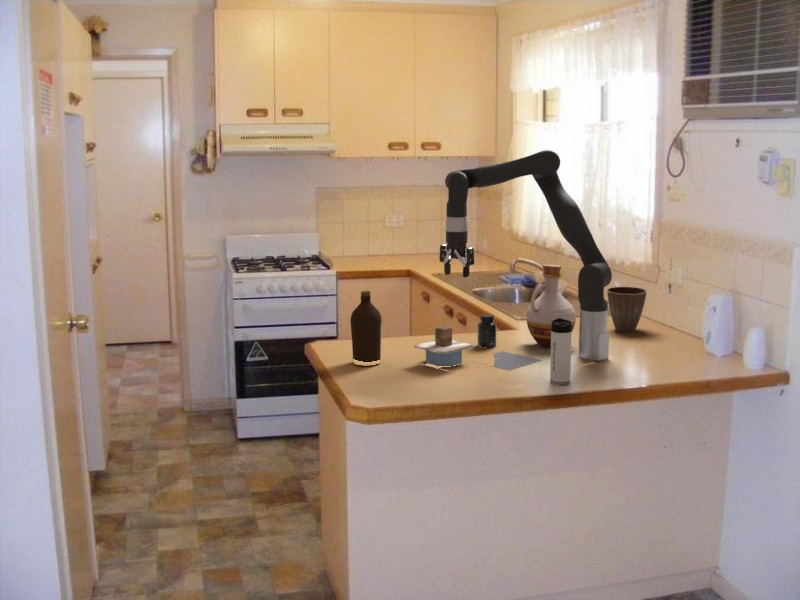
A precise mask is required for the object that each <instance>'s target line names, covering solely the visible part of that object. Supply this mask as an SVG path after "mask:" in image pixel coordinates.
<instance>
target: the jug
mask: <svg viewBox="0 0 800 600" xmlns="http://www.w3.org/2000/svg"><path fill="white" fill-rule="evenodd" d="M542 269H543V272H542V277H543V279H544V283H541V284H539V285H538V286H537V287H536V288H535V289H534V291H533V293H532V295H531V297H530V304H529V307H528V308H527V311H526V315H525V317H526V324H527V329H528V331H529V334H530V336H531V337H532V338H533V340H534V341H535V342H536V344H537V345H538V346H539V347H540V348H543V347H544V348H543V349H551V333H552V332H551V329H552V327H551V326H552V321H553V320H556V319H557V318H562V319H565V320H569V321H571V323H572V328H571V329H572V330H571V331H572V332H573V331H574V328H575V324H576V320H577V314H576V311H575V308H574V307H573V305H572V304H571V303H570V302H569V300H567V299H566V298H565V297H564V296H563V295H562V294H561V293H560V292H559V281H560V278H561V275H562V272H561V269H562V265H559V264H542ZM543 288H544V290H543V292H542V293H541V294H540V296H539V297H537V296H538V294H539V292H540V291H541V289H543ZM536 297H537V298H536Z"/></svg>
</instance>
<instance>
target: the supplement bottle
mask: <svg viewBox="0 0 800 600" xmlns="http://www.w3.org/2000/svg"><path fill="white" fill-rule="evenodd" d="M494 321H495V316H494V314H490V313H484V314H481V315H480V322H479V323H478V324H477V346H478V345H479V346H481V347H487V348H486V349H493V348H492V347H494V348H496V347H497V323H495V322H494Z"/></svg>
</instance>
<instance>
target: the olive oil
mask: <svg viewBox="0 0 800 600" xmlns="http://www.w3.org/2000/svg"><path fill="white" fill-rule="evenodd" d="M371 297H372V296H371V291H369V290H361V291H360V303H359V304H358V305H357V307H356V308H355V309H354V310H353V311H352V312H351V315H350V333H351V345H352V346H351V347H352V360H353V359H355V360H358V361H363V362H372V361H377V360H380V359H382V358H381V353H382V325H383V324H382V321H383V320H382V315H381V311H379V310H378V309H377V307H376V306H375V305H374V304H373V303H372V302H371Z"/></svg>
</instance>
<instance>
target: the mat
mask: <svg viewBox="0 0 800 600" xmlns="http://www.w3.org/2000/svg"><path fill="white" fill-rule="evenodd" d="M493 354H494V358H495V360H494V361H495V362H494V365H493V366H494V367H493V368H496V369H501V370H506V371H512V370H516V369H518V368H523V367H526V366H530V365H533V364H535V363H539V362H542V361H544V360H543V359H539V358H534V357H531V356H525V355H522V354H521V355H520V354H517V353H513V352H507V351H503V350H501V351H499V352H494V353H493ZM497 358H499V359H497Z"/></svg>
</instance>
